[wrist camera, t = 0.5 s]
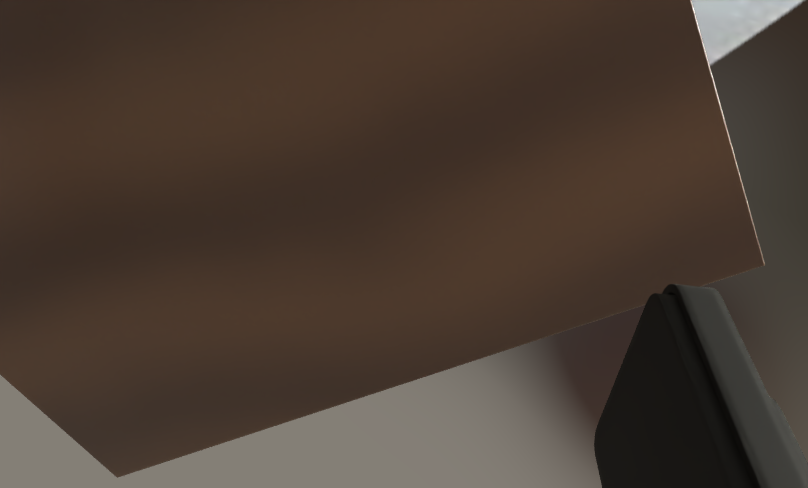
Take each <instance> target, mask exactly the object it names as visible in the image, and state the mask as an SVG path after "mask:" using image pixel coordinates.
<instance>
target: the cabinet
mask: <svg viewBox="0 0 808 488" xmlns="http://www.w3.org/2000/svg"><path fill="white" fill-rule="evenodd" d="M764 265H765V263H764V259H763V255H762V252H761V248H760V245H759V241H758V238H757V234H756V230H755V227H754V223H753V220H752V216H751V212H750V209H749V205H748V202H747V198H746V195H745V191H744V187H743V184H742V180H741V177H740V173H739V169H738V166H737V162H736V158H735V155H734V151H733V148H732V144H731V140H730V137H729V133H728V130H727V126H726V122H725V119H724V115H723V112H722V108H721V105H720V101H719V97H718V94H717V90H716V87H715V83H714V79H713V76H712V72H711V69H710V65H709V61H708V58H707V54H706V50H705V47H704V43H703V40H702V36H701V32H700V29H699V25H698V22H697V18H696V14H695V11H694V7H693V4H692V0H0V375H1V376H2V377H4V378H5V379H6V380H7V381H8V382H9V383H10V384H11V385H13V386H14V387H15V388H16V389H17V390H18V391H20V392H21V393H22V394H23V395H24V396H25V397H26V398H27V399H28V400H30V401H31V402H32V403H33V404H34V405H35V406H37V407H38V408H39V409H40V410H41V411H42V412H43V413H44V414H46V415H47V416H48V417H49V418H50V419H51V420H52V421H54V422H55V423H56V424H57V425H58V426H59V427H60V428H61V429H63V430H64V431H65V432H66V433H67V434H68V435H69V436H70V437H72V438H73V439H74V440H75V441H76V442H77V443H78V444H80V445H81V446H82V447H83V448H84V449H85V450H86V451H88V452H89V453H90V454H91V455H92V456H93V457H94V458H96V459H97V460H98V461H99V462H100V463H101V464H103V466H105V467H106V468H107V469H108V470H109V471H110V472H111V473H113V474H114V475H115V476H116V477H121V476H124V475H127V474H130V473H133V472H135V471H139V470H142V469H145V468H148V467H151V466H154V465H157V464H160V463H163V462H166V461H170V460H173V459H175V458H179V457H182V456H185V455H188V454H191V453H194V452H197V451H200V450H203V449H206V448H209V447H212V446H215V445H218V444H221V443H224V442H227V441H230V440H234V439H236V438H240V437H243V436H245V435H249V434H252V433H255V432H258V431H261V430H264V429H267V428H270V427H273V426H276V425H279V424H282V423H285V422H288V421H291V420H294V419H297V418H301V417H303V416H307V415H309V414H313V413H316V412H319V411H322V410H325V409H328V408H331V407H334V406H337V405H340V404H343V403H346V402H349V401H352V400H355V399H358V398H362V397H365V396H368V395H371V394H374V393H376V392H380V391H383V390H386V389H389V388H392V387H395V386H398V385H401V384H404V383H407V382H410V381H413V380H417V379H420V378H422V377H426V376H429V375H432V374H435V373H438V372H441V371H444V370H447V369H450V368H453V367H456V366H459V365H462V364H465V363H468V362H471V361H474V360H477V359H481V358H483V357H487V356H490V355H493V354H496V353H499V352H502V351H505V350H508V349H511V348H514V347H517V346H520V345H523V344H526V343H529V342H532V341H536V340H538V339H542V338H545V337H548V336H551V335H554V334H557V333H560V332H563V331H566V330H569V329H572V328H575V327H578V326H581V325H584V324H587V323H590V322H593V321H596V320H600V319H602V318H605V317H609V316H612V315H615V314H617V313H621V312H624V311H627V310H630V309H633V308H636V307H639V306H642V305H645V304H646V303H647V301H648V299H649V297H650V296H651V295H652V294H654V293H659V294H662V292H663V290H664V289H665V288H666V287H667V286H668V285H669V284H679V285H689V286H698V287H700V286H703V285H706V284H709V283H712V282H715V281H718V280H721V279H725V278H728V277H731V276H734V275H736V274H740V273H743V272H746V271H749V270H752V269H755V268H758V267H761V266H764Z"/></svg>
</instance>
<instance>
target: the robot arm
mask: <svg viewBox="0 0 808 488" xmlns="http://www.w3.org/2000/svg"><path fill="white" fill-rule="evenodd" d="M594 447H595V456H596V461H597V465H598V470H599V475H600V479H601V483H602V488H808V463H807V461H806V459H805V457H804V455H803V453H802V451H801V449H800V447H799V445H798V443H797V441H796V438H795V437H794V434H793V432H792V430H791V428H790V426H789V424H788V422H787V420H786V418H785V416H784V414H783V412H782V410H781V409H780V407H779V406H778V404H777V403H776V401H775V400H774V399H772V398H771V397H769V395H768V393H767V391H766V389H765V387H764V385H763V383H762V381H761V378H760V376H759V374H758V372H757V370H756V368H755V366H754V364H753V362H752V360H751V358H750V355H749V353H748V351H747V349H746V347H745V345H744V343H743V341H742V339H741V337H740V335H739V333H738V330H737V328H736V326H735V324H734V322H733V320H732V318H731V316H730V314H729V312H728V309H727V307H726V305H725V303H724V301H723V299H722V297H721V295H720V294H719V292H718V291H717V290H716V289H714V288H707V287H698V286H689V285H679V284H669V285H668V286H667V287H666V288H665V289H664V290H663V292H662V294H659V293H654V294H652V295H651V296H650V297H649V299H648V301H647V303H646V305H645V308H644V310H643V313H642V315H641V318H640V321H639V323H638V325H637V328H636V331H635V333H634V335H633V338H632V340H631V343H630V345H629V348H628V351H627V353H626V355H625V358H624V360H623V364H622V365H621V368H620V370H619V373H618V375H617V378H616V380H615V383H614V386H613V388H612V390H611V393H610V396H609V398H608V400H607V403H606V405H605V408H604V410H603V413H602V415H601V418H600V420H599V423H598V425H597V429H596V432H595V443H594Z"/></svg>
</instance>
